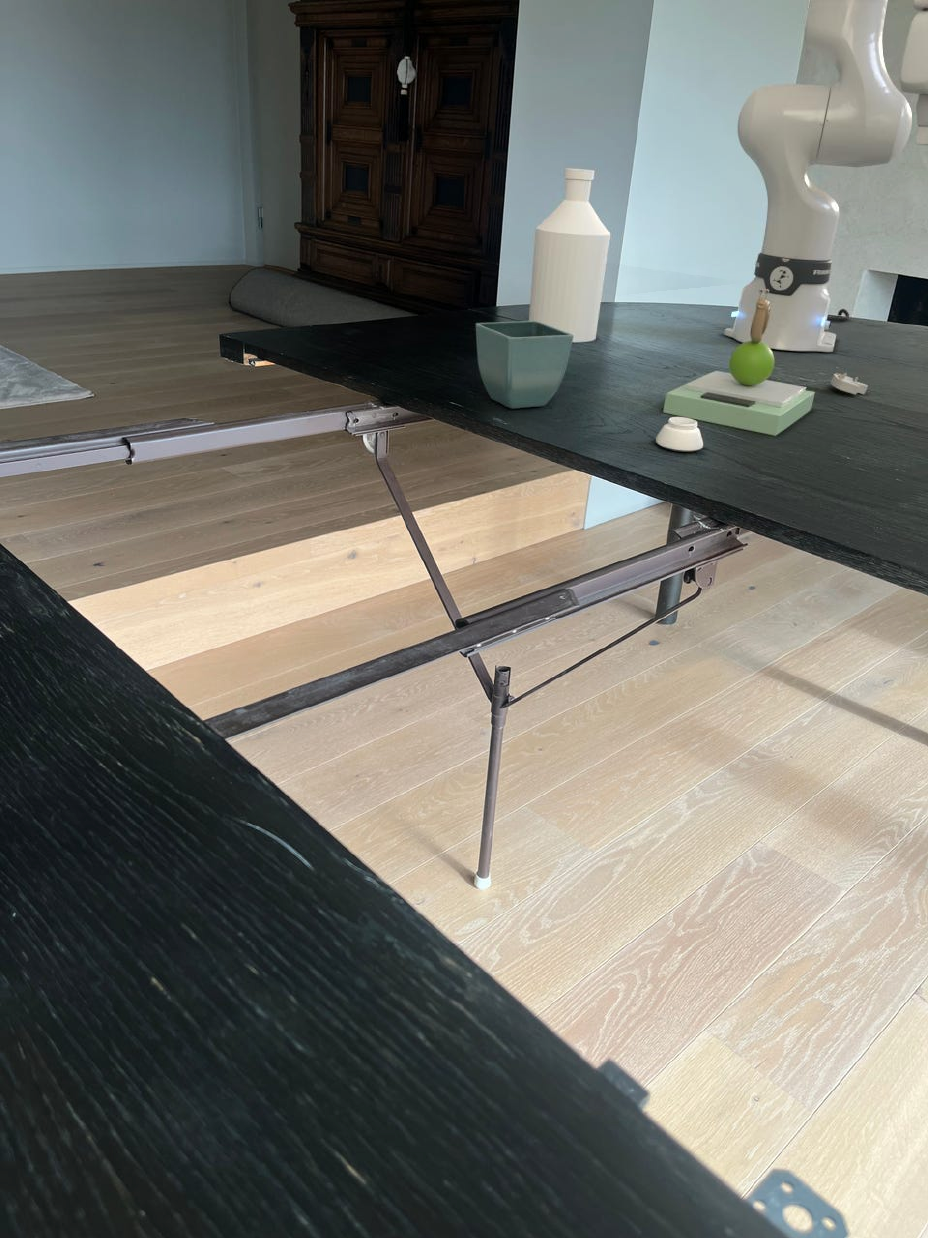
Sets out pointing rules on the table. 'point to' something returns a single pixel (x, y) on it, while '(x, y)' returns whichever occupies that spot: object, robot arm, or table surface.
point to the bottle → (570, 262)
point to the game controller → (847, 384)
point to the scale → (740, 403)
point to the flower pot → (522, 361)
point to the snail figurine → (754, 350)
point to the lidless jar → (680, 435)
